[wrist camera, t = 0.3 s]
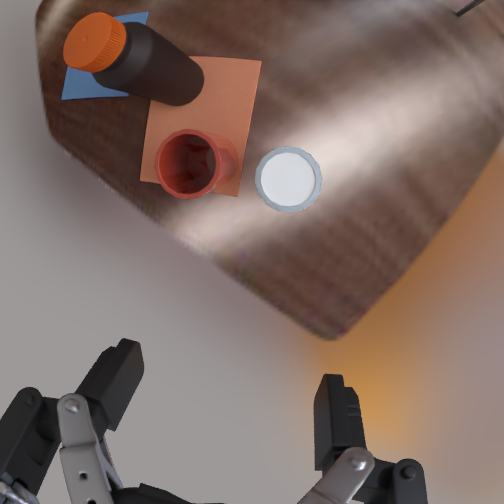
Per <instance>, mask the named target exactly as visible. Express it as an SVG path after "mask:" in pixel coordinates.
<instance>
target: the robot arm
mask: <svg viewBox="0 0 504 504" xmlns="http://www.w3.org/2000/svg"><path fill="white" fill-rule="evenodd" d="M143 373H144V362H143V357H142V352H141V346H140V343H139V342H137V341H133V340H129V339H125V338H123V339H121V341H120V342H119V344H118V345H117V347H112V346H111V347H109V348H108V349H106V350H105V351H103V352H102V353H101V355H100V356H99V358H98V359H97V362H95V363H94V365H93V366H92V368H91V369H90V371H89V372H88V374H87V375H86V377H85V378H84V380H83V381H82V383H81V384H80V386H79V387H78V389H77V390H76V391H75V393H69V394H66V395H64V396H62V397H61V398H60V399H56V398H49V397H42V395H41V394H40V392H39V391H38V390H37V389H35V388H33V387H26V388H24V389H22V390H20V391H19V392H18V393H17V395H16V397H15V398H14V399H13V401H12V402H11V404H10V406H9V407H8V408H7V410H6V412H5V413H4V415H3V416H2V418H1V420H0V504H39V501H38V499H37V497H36V496H37V494H38V491H39V489H40V486H41V484H42V482H43V480H44V477H45V475H46V473H47V470H48V468H49V466H50V464H51V462H52V459H53V457H54V455H55V453H56V451H57V449H58V447H59V445H60V443H61V442H62V445H63V447H62V448H60V450H59V452H60V459H61V463H62V468H63V472H64V477H65V481H66V485H67V489H68V492H69V496H70V499H71V503H72V504H194V503H190V502H188V501H185V500H183V499H181V498H179V497H177V496H175V495H173V494H171V493H169V492H168V491H166V490H162V489H159V488H155V487H152V486H149V485H146V484H143V483H140V486H139V488H137V487H132V488H131V487H130V488H124V487H123V485H122V482H121V480H120V478H119V476H118V474H117V472H116V470H115V467H114V464H113V462H112V459H111V455H110V452H109V449H108V446H107V443H106V439H105V436H104V434H105V432H106V429H109V430H112V431H116V429H117V427H118V425H119V422H120V420H121V418H122V416H123V414H124V412H125V410H126V408H127V406H128V404H129V402H130V400H131V398H132V396H133V394H134V392H135V390H136V388H137V387H138V385H139V383H140V381H141V379H142V376H143ZM314 443H315V470H316V471H320V470H321V471H322V478H321V479H320V480H319V481H318V482H317V483H316V485H315V486H314V487H313V488H312V489H311V490H310V491H309V492H308V493H307V494H306V495H305V496H304V497H303V498H302V499H301V500H300V501H299V502H298V503H297V504H348V502H349V501H350V500H351V499H352V500H356V501H360V502H364V504H428V501H427V493H426V485H425V478H424V471H423V468H422V466H421V464H420V463H419V462H417V461H416V460H413V459H403V460H400V461H399V462H398V463H397V464H396V463H391V462H387V461H382V460H379V459H376V458H375V457H373V455H372V454H371V452H369V451H368V450H367V448H366V443H365V436H364V429H363V423H362V417H361V410H360V405H359V399H358V396H357V394H356V393H355V391H354V389H353V388H352V387H344V381H343V376H342V375H338V374H337V375H336V374H324V375H323V378H322V380H321V384H320V385H319V388H318V390H317V393H316V395H315V400H314ZM206 504H207V503H206ZM209 504H224V503H209Z"/></svg>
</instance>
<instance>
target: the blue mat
mask: <svg viewBox="0 0 504 504" xmlns="http://www.w3.org/2000/svg"><path fill="white" fill-rule="evenodd" d="M148 14H149V12H143V13H135V14H129V15H123V16H117V17H113V18H115V19H116V20H118V21H120V22H121V23H125V22H140V23H142V24H144V25H145V24H146V21H147V17H148ZM117 96H129V93H125V92H121V91H117V90H113V89H109V88H105V87H103V86H101V85H100V84H98V83H97V82H96V81H95V79H94V77H93V76H92V73H91V72H85V71H81V70H77V69H73V68H71V67H69V66H68V69H67V73H66V78H65V83H64V88H63V94H62V99H61V100H68V99H79V98H94V97H117Z"/></svg>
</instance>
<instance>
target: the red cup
mask: <svg viewBox="0 0 504 504" xmlns="http://www.w3.org/2000/svg"><path fill="white" fill-rule="evenodd" d="M238 162H239V161H238V153H237V150H236V148H235V147H234V145H233V144H232V142H231V141H229V140H228V139H227V138H225V137H223V136H221V135H219V134H214V133H210V132H205V131H200V130H192V129H183V130H180V131H177V132H174V133H172V134H171V135H169V136H168V137H167V138H166V139H165V140H164V141H163V142H162V143H161V145H160V147H159V149H158V151H157V153H156V158H155V171H156V175H157V179H158V181H159V182H160V184H161V185H162V187H163V188H164V190H165V191H167V192H168V193H170V194H171V195H173V196H175V197H177V198H183V199H193V198H197V197H201V196H203V195H205V194H207V193H209V192H211V191H213V190H216V189H218V188H220V187H222V186H223V185H225V184H226V183H228V182H229V181H230V180H231V179H232V178H233V177H234V175H235V173H236V171H237V168H238Z"/></svg>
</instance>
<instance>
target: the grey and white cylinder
mask: <svg viewBox="0 0 504 504" xmlns="http://www.w3.org/2000/svg"><path fill="white" fill-rule="evenodd" d="M255 184H256V188H257V191H258V194H259V196H260V197H261V198H262V199H263V201H264V202H265V203H266V204H267V205H268V206H270V207H272V208H274V209H275V210H277V211H282V212H289V213H292V212H296V211H300V210H304V209H305V208H306V207H308V206H309V205H311V204H312V203H313V202H314V201H315V199H316V198H317V196H318V194H319V193H320V191H321V185H322V175H321V171H320V167H319V165H318V163H317V162H316V161H315V159H314V158H313V157H312V156H311V154H309V153H307V152H305V151H304V150H302V149H300V148H297V147H289V146H284V147H280V148H277V149H273V150H272V151H270V152H269V153H268V154H267V155H265V156H264V157H263V158H262V159H261V161H260V163H259V165H258V167H257V168H256V175H255Z"/></svg>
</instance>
